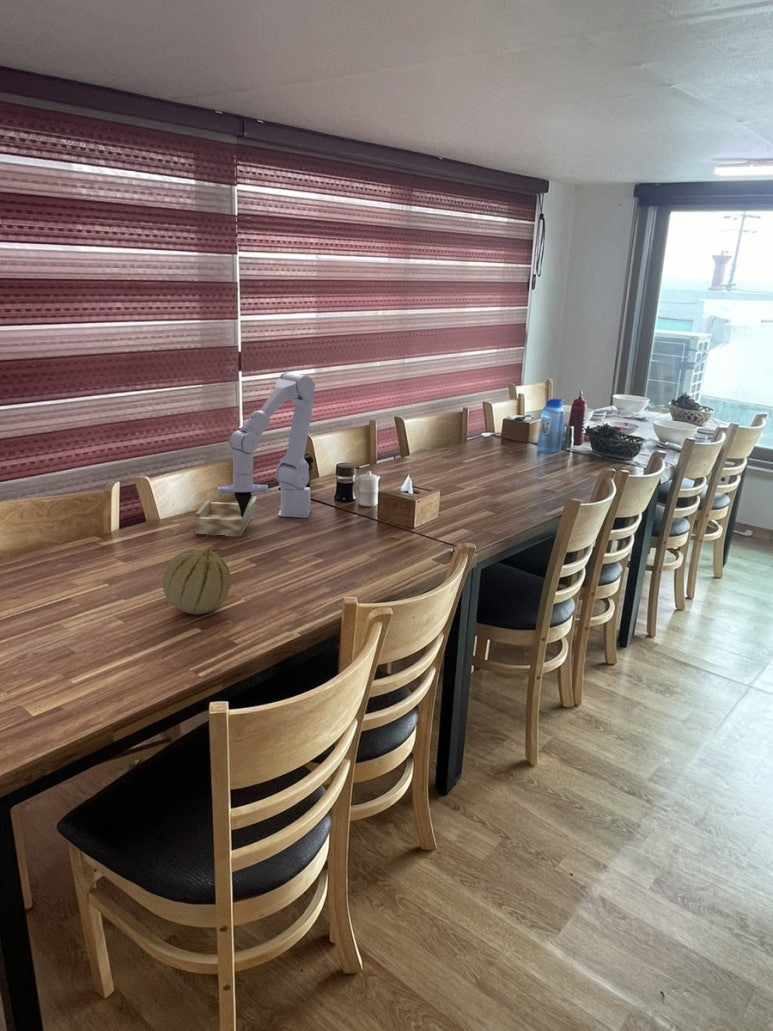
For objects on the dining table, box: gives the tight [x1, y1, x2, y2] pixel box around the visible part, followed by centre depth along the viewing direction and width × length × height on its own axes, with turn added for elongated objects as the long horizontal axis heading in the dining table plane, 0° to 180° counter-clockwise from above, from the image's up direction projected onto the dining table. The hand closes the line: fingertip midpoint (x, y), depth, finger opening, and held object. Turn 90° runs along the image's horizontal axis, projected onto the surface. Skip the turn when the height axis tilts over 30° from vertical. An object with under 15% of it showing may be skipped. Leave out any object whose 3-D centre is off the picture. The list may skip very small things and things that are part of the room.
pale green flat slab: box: [241, 495, 258, 527], centre depth 215 cm, size 1×12×6 cm, turn 0°
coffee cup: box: [292, 452, 315, 489], centre depth 251 cm, size 9×8×13 cm
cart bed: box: [194, 499, 251, 537], centre depth 216 cm, size 13×15×6 cm
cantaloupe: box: [162, 546, 232, 615], centre depth 162 cm, size 15×15×15 cm
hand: (242, 516), depth 215 cm, fingers closed, pressing on pale green flat slab
